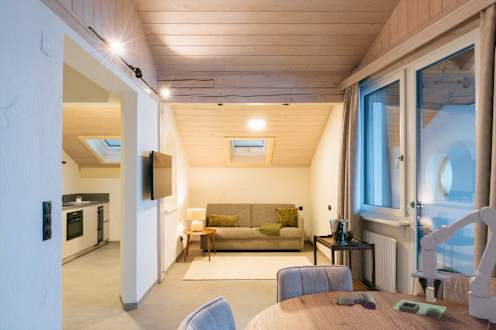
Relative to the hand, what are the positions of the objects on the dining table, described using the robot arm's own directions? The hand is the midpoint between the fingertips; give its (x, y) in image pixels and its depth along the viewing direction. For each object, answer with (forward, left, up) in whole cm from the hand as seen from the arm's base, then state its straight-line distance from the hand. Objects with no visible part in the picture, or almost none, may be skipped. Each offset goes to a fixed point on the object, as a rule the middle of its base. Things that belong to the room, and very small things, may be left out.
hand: (431, 297), depth 144 cm
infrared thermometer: (+27, +14, -6) cm, 31 cm away
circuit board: (+4, +3, -6) cm, 7 cm away
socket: (+7, +7, -5) cm, 11 cm away
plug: (0, 0, -2) cm, 2 cm away
